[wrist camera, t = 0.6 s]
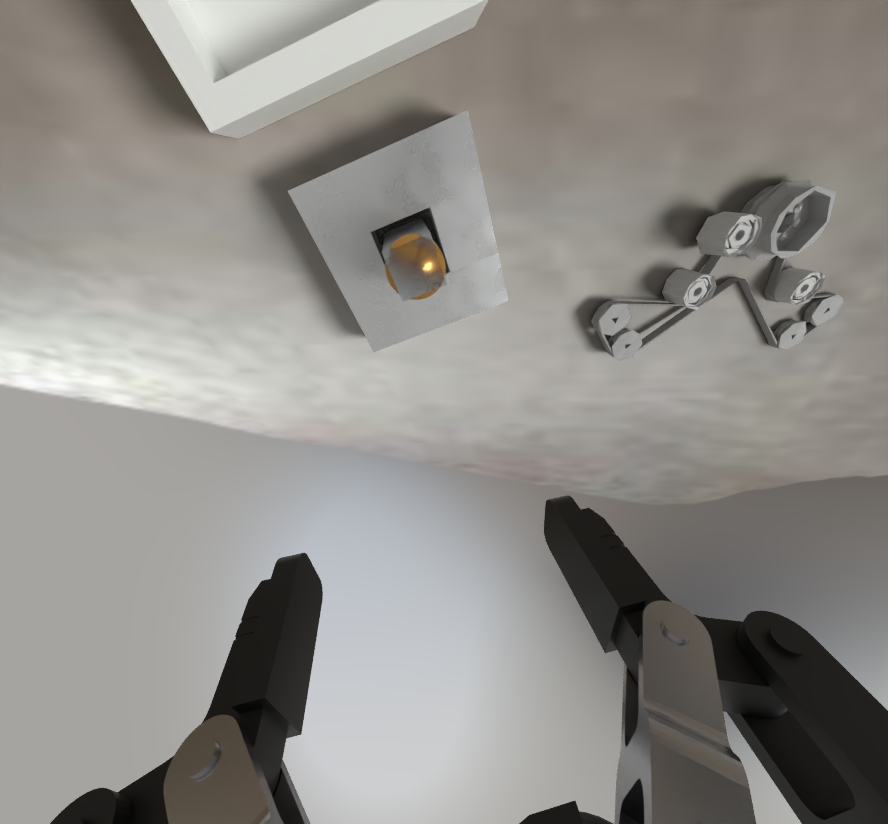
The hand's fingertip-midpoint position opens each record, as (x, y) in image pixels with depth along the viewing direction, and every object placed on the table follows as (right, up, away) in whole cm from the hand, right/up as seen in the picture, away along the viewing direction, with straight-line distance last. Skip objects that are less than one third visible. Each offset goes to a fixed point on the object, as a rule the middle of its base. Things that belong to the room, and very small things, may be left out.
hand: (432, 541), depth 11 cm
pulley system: (+28, +18, +20) cm, 39 cm away
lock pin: (-2, +18, +15) cm, 23 cm away
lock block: (-2, +18, +15) cm, 23 cm away
